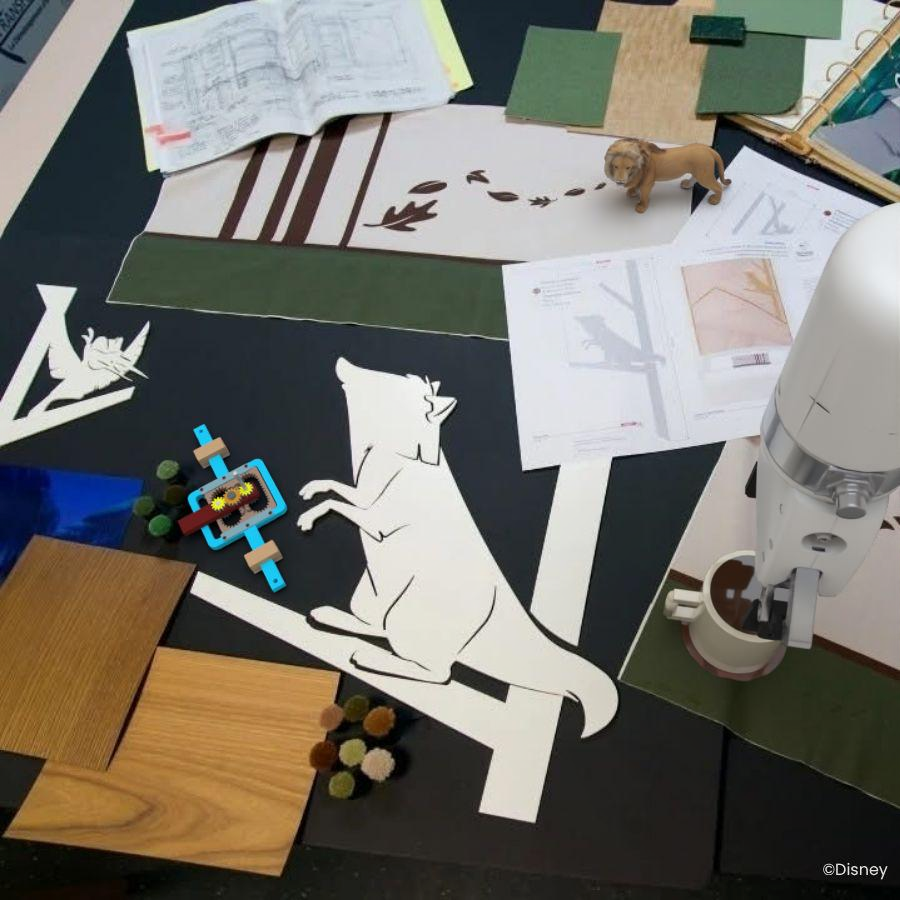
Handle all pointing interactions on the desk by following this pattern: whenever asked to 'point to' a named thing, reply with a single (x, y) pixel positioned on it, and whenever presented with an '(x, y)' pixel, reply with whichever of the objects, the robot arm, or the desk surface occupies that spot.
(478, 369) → the desk surface
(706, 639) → the mug
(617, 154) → the lion figurine
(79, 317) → the desk surface
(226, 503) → the gear mechanism
